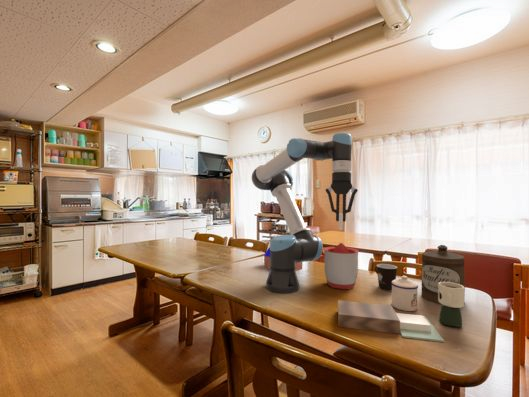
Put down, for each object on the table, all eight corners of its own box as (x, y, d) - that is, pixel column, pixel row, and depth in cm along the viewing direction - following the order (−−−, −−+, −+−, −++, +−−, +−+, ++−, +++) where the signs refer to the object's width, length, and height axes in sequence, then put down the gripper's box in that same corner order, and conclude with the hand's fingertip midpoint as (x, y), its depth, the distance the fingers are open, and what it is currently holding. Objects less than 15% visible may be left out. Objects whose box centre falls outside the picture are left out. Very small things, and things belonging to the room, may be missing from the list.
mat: (402, 337, 81) (402, 335, 81) (391, 314, 97) (391, 313, 97) (444, 342, 79) (444, 340, 79) (425, 318, 94) (425, 316, 94)
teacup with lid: (417, 314, 98) (417, 281, 97) (389, 308, 102) (389, 277, 102) (419, 302, 108) (419, 273, 108) (393, 298, 113) (394, 269, 112)
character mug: (439, 315, 96) (440, 278, 96) (464, 321, 92) (465, 283, 92) (435, 327, 88) (436, 286, 88) (462, 334, 83) (463, 291, 83)
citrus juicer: (356, 280, 136) (356, 240, 135) (360, 292, 119) (360, 246, 118) (324, 278, 139) (324, 239, 139) (323, 289, 122) (323, 245, 122)
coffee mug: (399, 292, 120) (399, 269, 120) (378, 290, 121) (378, 268, 121) (392, 283, 131) (392, 262, 131) (373, 282, 133) (373, 261, 133)
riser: (338, 326, 88) (338, 314, 88) (337, 311, 99) (338, 300, 99) (399, 333, 83) (399, 320, 83) (391, 316, 95) (391, 305, 95)
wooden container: (416, 298, 113) (417, 245, 112) (427, 289, 123) (427, 240, 123) (460, 309, 102) (461, 250, 102) (467, 298, 113) (468, 245, 112)
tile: (398, 328, 86) (399, 322, 86) (393, 318, 93) (393, 312, 93) (430, 331, 84) (430, 325, 84) (422, 321, 91) (422, 315, 91)
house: (290, 273, 147) (290, 252, 147) (263, 266, 161) (263, 247, 161) (303, 269, 156) (303, 249, 156) (276, 263, 170) (276, 244, 170)
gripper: (325, 171, 110) (324, 229, 110) (359, 171, 107) (358, 231, 107) (325, 172, 117) (324, 227, 117) (357, 172, 114) (356, 228, 114)
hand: (340, 229), depth 112 cm, fingers closed
